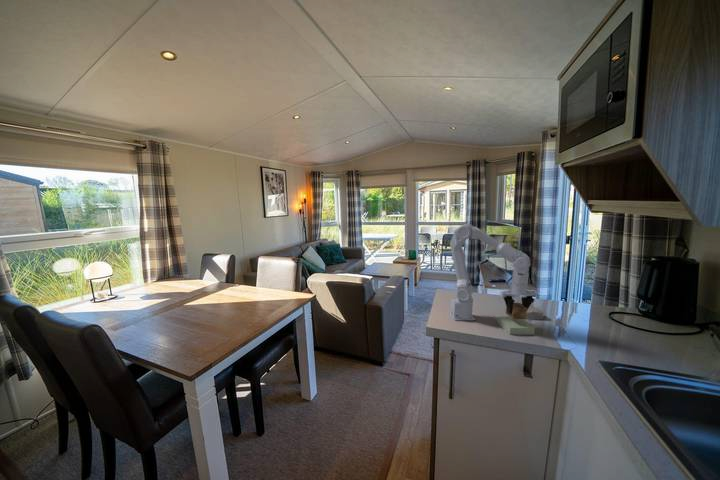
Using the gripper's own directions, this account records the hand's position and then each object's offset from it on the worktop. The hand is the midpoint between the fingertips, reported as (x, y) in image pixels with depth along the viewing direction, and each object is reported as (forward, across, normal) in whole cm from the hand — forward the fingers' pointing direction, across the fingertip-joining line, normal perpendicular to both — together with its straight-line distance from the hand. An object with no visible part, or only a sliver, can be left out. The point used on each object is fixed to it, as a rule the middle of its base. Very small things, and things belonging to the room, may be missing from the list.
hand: (516, 312), depth 111 cm
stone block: (+8, +13, +14) cm, 21 cm away
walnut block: (+2, 0, 0) cm, 2 cm away
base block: (+7, 0, 0) cm, 7 cm away
